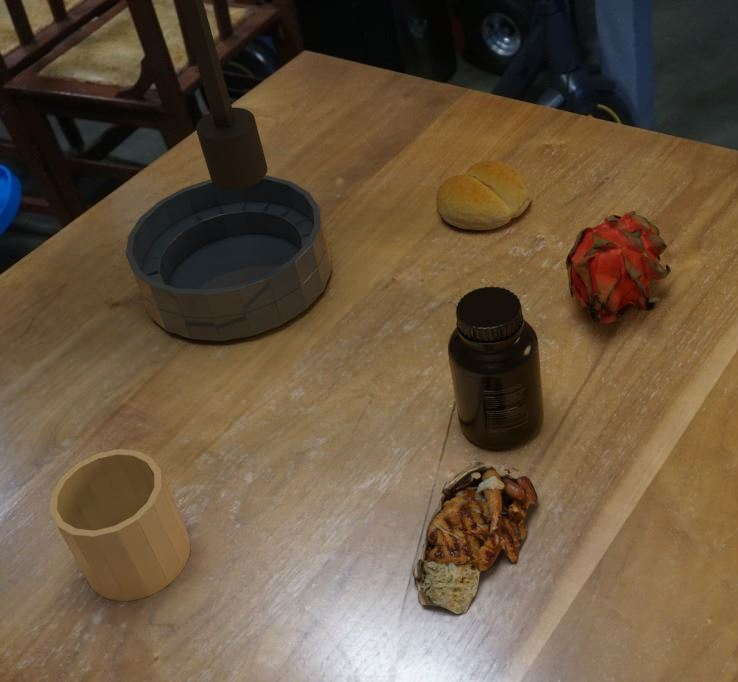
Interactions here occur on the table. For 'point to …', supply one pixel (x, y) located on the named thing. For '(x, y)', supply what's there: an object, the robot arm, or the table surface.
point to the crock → (121, 524)
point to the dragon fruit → (616, 266)
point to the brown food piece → (471, 534)
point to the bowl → (229, 258)
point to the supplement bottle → (495, 369)
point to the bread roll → (483, 196)
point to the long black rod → (222, 114)
